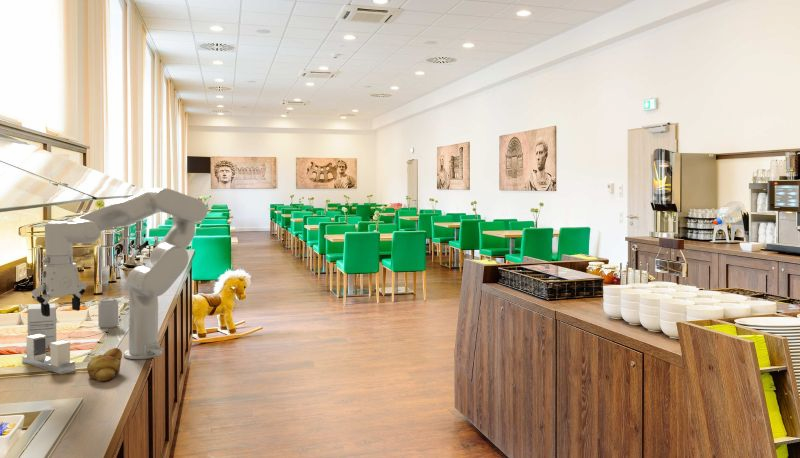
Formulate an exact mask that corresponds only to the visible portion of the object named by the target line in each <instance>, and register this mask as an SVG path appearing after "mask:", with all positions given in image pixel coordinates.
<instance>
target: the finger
mask: <svg viewBox="0 0 800 458" xmlns="http://www.w3.org/2000/svg"><path fill="white" fill-rule="evenodd" d="M49 354H50V355H49V357H50V364H51V365H54V366H59V364H64V363H68V362H71V342H70V341H67V340H63V339H61V340H58V341H57V340H56V342H52V343H50V348H49Z"/></svg>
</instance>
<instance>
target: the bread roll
mask: <svg viewBox="0 0 800 458" xmlns="http://www.w3.org/2000/svg"><path fill="white" fill-rule="evenodd" d="M122 356H123V352H122V350H121V349H120V348H117V347H114V348H110V349H109V350H107V351H105V352H104V353H103V354H98V355H96V356H92V357H90V360H89V361H88V362H87V366H86V368H87V369H86V370H87V374H88V375H89V378H91V379H94V380H95V379H96V380H97V381H101V382H105V381H109V380H112V379H113V378H114V377H115V376H116V375H118V374H119V373H120V371H121V370H120V369H121V363H122V362H121V361H122Z"/></svg>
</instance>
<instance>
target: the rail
mask: <svg viewBox="0 0 800 458" xmlns="http://www.w3.org/2000/svg"><path fill="white" fill-rule="evenodd" d="M46 349H47V348H46V336H45V335H41V334H36V335H31V336H28V335H26V355H22V363H24V364H28V365H30V366H34V367H37V368H40V369H43V370H46V371H49V372H53V373H56V374H59V375H64V374H68V373H71V372H75V371H76V361H74V360H73V361H70V362H68V363H64V364H59V366H54V365H51V364H50V356H49V355H48V356H47V351H46Z"/></svg>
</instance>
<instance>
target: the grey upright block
mask: <svg viewBox="0 0 800 458" xmlns="http://www.w3.org/2000/svg"><path fill="white" fill-rule="evenodd" d="M97 309H98V311H97V312H98V313H97V314H98V315H97V317H98V327H99V328H100V327H101V328H100V329H103V328H108V329H115V328H116V327H118V325H119V301H118V300H117V298H115V297H105V298H104V297H103V298H100V301H98V308H97ZM108 329H107V330H108Z"/></svg>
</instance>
